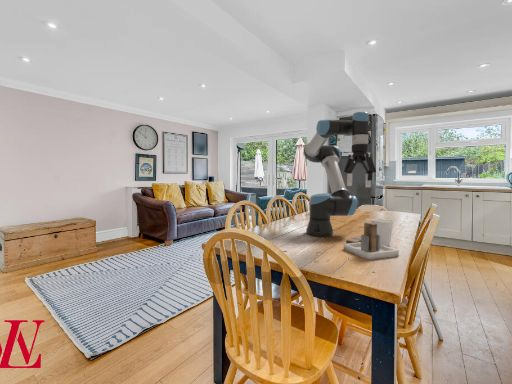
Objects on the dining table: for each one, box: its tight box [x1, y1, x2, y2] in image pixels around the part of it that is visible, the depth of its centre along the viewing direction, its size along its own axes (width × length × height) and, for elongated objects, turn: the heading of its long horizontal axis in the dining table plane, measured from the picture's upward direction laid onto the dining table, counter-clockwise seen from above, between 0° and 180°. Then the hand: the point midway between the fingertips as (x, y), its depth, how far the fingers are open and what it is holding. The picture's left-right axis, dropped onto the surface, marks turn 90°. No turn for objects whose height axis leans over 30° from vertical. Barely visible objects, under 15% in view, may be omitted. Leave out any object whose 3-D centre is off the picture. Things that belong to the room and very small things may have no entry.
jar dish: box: [343, 234, 400, 261], centre depth 117 cm, size 16×16×8 cm
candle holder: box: [370, 218, 394, 247], centre depth 132 cm, size 10×10×12 cm
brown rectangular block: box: [363, 221, 377, 252], centre depth 117 cm, size 5×2×12 cm, turn 19°
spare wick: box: [345, 235, 361, 244], centre depth 133 cm, size 12×5×2 cm, turn 135°
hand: (358, 186), depth 132 cm, fingers open, 13 cm apart
